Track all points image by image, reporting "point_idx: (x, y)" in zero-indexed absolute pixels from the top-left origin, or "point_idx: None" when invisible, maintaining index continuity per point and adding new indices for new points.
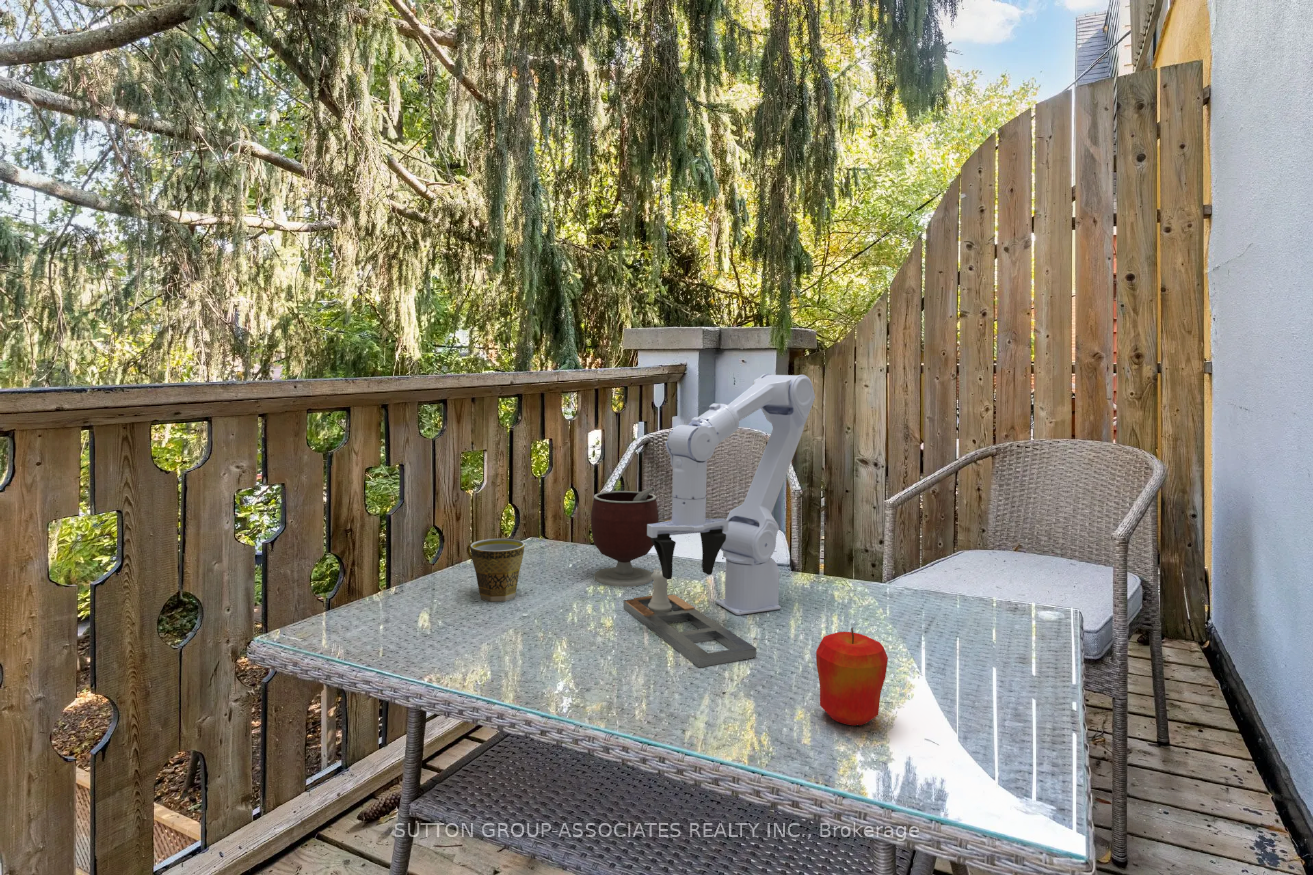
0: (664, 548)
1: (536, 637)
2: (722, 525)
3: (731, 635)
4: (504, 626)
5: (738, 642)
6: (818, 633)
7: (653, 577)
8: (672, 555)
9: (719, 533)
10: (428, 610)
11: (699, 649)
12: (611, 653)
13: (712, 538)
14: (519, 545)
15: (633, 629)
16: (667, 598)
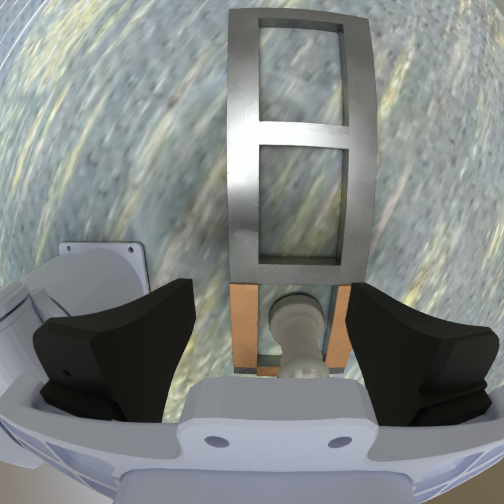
0: (468, 325)
1: (501, 280)
2: (26, 405)
3: (239, 80)
4: (497, 330)
5: (247, 41)
6: (62, 107)
7: (328, 370)
8: (398, 318)
9: (62, 377)
10: (498, 387)
11: (351, 44)
12: (467, 164)
13: (114, 361)
14: None
15: (390, 256)
16: (286, 326)
